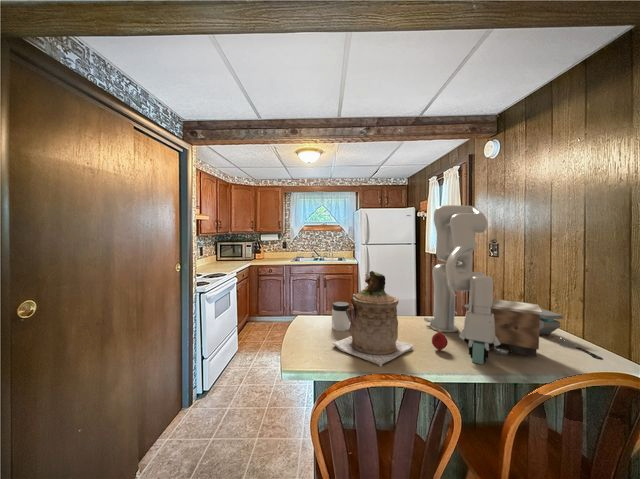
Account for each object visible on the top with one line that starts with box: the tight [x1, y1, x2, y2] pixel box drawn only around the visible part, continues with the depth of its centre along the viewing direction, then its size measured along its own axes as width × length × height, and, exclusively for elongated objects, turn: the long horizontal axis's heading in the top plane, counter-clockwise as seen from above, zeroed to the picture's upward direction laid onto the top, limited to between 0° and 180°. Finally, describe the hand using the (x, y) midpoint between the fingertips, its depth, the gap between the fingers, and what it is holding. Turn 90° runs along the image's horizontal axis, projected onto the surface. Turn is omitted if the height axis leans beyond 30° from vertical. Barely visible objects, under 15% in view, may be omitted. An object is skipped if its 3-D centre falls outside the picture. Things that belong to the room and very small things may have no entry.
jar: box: [331, 301, 351, 332], centre depth 141 cm, size 9×8×12 cm
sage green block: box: [471, 340, 485, 365], centre depth 113 cm, size 4×18×7 cm, turn 148°
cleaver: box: [558, 337, 604, 361], centre depth 125 cm, size 29×1×10 cm
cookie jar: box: [331, 270, 414, 367], centre depth 118 cm, size 25×25×32 cm
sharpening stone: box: [520, 301, 564, 335], centre depth 142 cm, size 25×8×11 cm, turn 4°
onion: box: [431, 331, 448, 351], centre depth 117 cm, size 6×6×8 cm
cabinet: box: [489, 298, 542, 357], centre depth 116 cm, size 18×14×19 cm
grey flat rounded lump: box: [493, 345, 510, 356], centre depth 115 cm, size 5×5×2 cm
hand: (478, 357), depth 108 cm, fingers closed on sage green block, 3 cm apart
